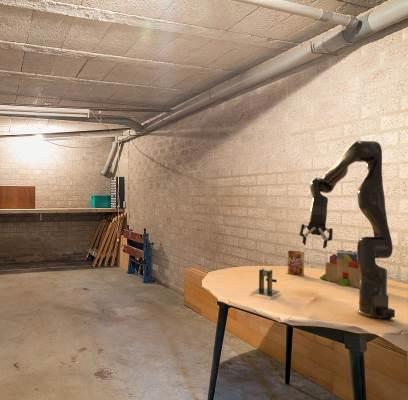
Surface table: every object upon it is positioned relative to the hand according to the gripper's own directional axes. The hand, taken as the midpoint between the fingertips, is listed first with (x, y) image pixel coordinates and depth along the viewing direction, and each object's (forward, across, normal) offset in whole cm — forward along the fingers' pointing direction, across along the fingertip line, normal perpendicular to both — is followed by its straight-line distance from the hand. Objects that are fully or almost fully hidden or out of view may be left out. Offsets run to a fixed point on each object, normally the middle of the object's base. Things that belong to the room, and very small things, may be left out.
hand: (314, 246), depth 174 cm
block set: (+12, +23, +42) cm, 50 cm away
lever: (+21, -19, -2) cm, 28 cm away
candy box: (+11, -2, +58) cm, 59 cm away
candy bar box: (+5, +28, +67) cm, 73 cm away
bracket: (+29, -19, -3) cm, 35 cm away
